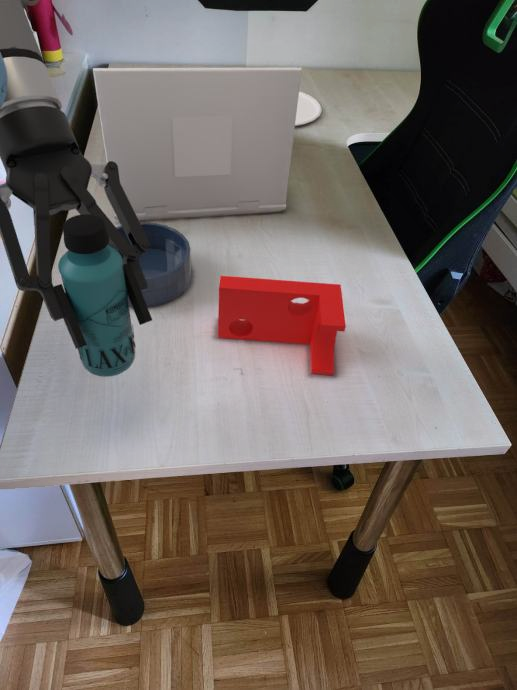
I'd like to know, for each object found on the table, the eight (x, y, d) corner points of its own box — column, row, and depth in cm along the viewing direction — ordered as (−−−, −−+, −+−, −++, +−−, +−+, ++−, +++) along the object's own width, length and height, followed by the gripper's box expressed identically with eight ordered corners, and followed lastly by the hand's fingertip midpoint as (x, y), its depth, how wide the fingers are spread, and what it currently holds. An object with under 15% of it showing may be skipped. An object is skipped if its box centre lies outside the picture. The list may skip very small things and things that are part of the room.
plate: (245, 81, 161) (245, 77, 160) (334, 102, 154) (335, 98, 153) (201, 114, 142) (201, 109, 141) (301, 139, 135) (301, 134, 134)
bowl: (99, 312, 84) (93, 284, 80) (95, 254, 95) (90, 226, 91) (198, 301, 88) (197, 273, 83) (183, 246, 98) (182, 219, 94)
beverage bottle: (73, 380, 60) (31, 236, 46) (97, 341, 65) (66, 199, 51) (126, 392, 60) (100, 249, 46) (147, 352, 64) (129, 211, 50)
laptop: (257, 156, 127) (267, 24, 106) (285, 214, 109) (303, 69, 89) (111, 161, 120) (91, 22, 99) (115, 224, 102) (92, 70, 82)
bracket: (340, 280, 78) (345, 326, 71) (328, 329, 85) (333, 375, 78) (221, 271, 77) (214, 316, 70) (220, 321, 85) (214, 366, 78)
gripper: (111, 120, 59) (184, 308, 62) (-76, 154, 51) (18, 370, 54) (126, 87, 53) (207, 299, 55) (-87, 120, 44) (21, 369, 47)
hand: (114, 334), depth 54 cm, fingers closed on beverage bottle, 6 cm apart
